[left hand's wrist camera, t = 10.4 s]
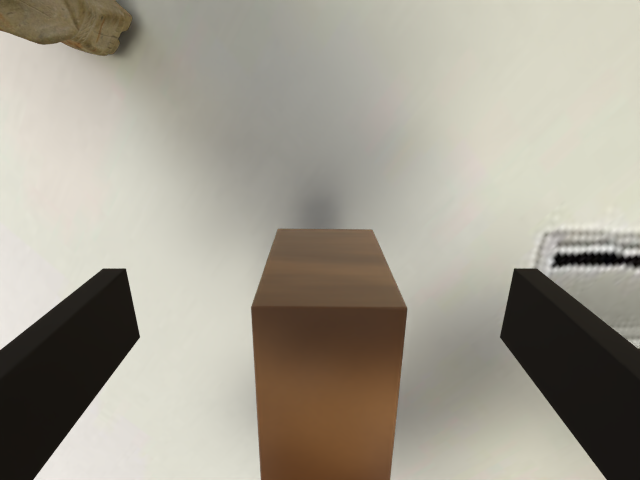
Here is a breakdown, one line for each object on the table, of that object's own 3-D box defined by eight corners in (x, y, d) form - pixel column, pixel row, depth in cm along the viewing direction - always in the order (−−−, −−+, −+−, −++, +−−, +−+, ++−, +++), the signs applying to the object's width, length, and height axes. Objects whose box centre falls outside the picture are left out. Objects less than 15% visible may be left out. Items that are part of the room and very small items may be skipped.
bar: (277, 228, 21) (250, 306, 13) (372, 229, 21) (408, 307, 13) (285, 524, 29) (272, 690, 21) (354, 524, 29) (369, 690, 21)
